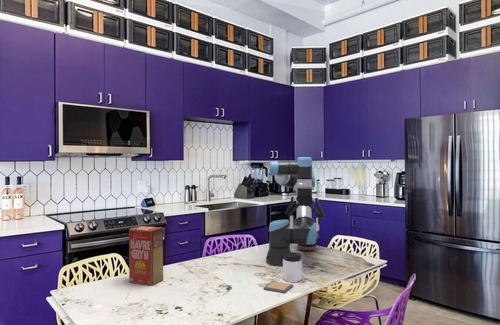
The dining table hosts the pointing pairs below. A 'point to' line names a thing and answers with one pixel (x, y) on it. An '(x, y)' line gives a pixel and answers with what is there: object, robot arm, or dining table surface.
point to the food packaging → (146, 255)
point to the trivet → (278, 287)
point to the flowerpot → (308, 246)
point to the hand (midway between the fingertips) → (304, 229)
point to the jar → (292, 267)
